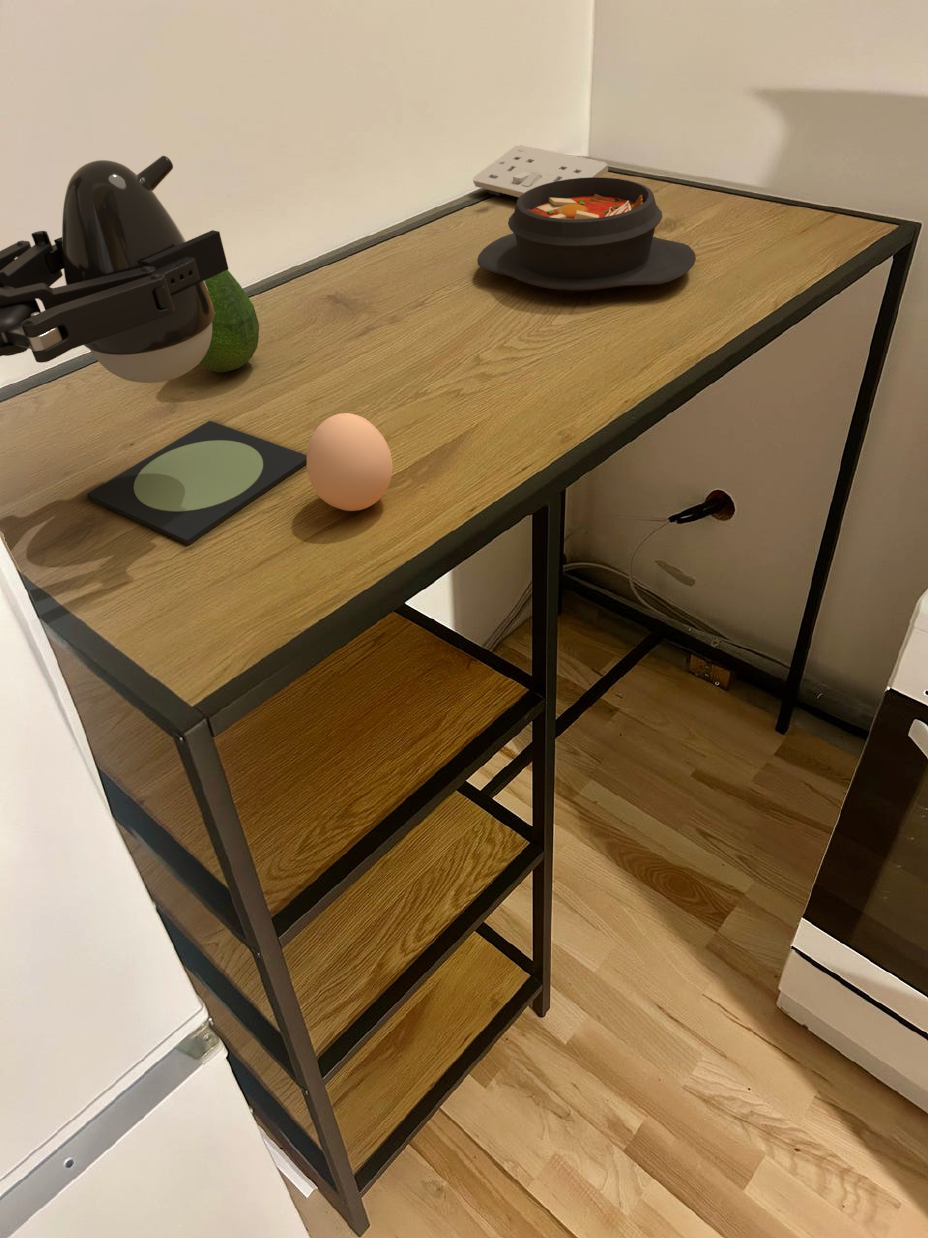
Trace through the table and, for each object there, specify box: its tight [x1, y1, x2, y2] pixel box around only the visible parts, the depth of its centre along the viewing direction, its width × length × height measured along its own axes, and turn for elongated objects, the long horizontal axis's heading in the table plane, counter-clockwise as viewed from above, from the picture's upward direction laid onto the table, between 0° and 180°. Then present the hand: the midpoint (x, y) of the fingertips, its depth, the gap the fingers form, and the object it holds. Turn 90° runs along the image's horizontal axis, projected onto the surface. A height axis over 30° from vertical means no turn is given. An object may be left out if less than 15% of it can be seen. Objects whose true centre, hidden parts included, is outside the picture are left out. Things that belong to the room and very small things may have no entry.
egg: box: [306, 412, 394, 512], centre depth 72 cm, size 7×7×8 cm
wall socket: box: [472, 144, 609, 199], centre depth 127 cm, size 18×15×4 cm
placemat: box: [86, 420, 307, 546], centre depth 79 cm, size 13×14×1 cm
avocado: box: [198, 269, 260, 373], centre depth 91 cm, size 8×8×12 cm
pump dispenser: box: [61, 155, 214, 384], centre depth 68 cm, size 10×10×15 cm
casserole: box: [476, 177, 697, 292], centre depth 104 cm, size 25×19×8 cm
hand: (175, 239), depth 70 cm, fingers closed on pump dispenser, 9 cm apart
